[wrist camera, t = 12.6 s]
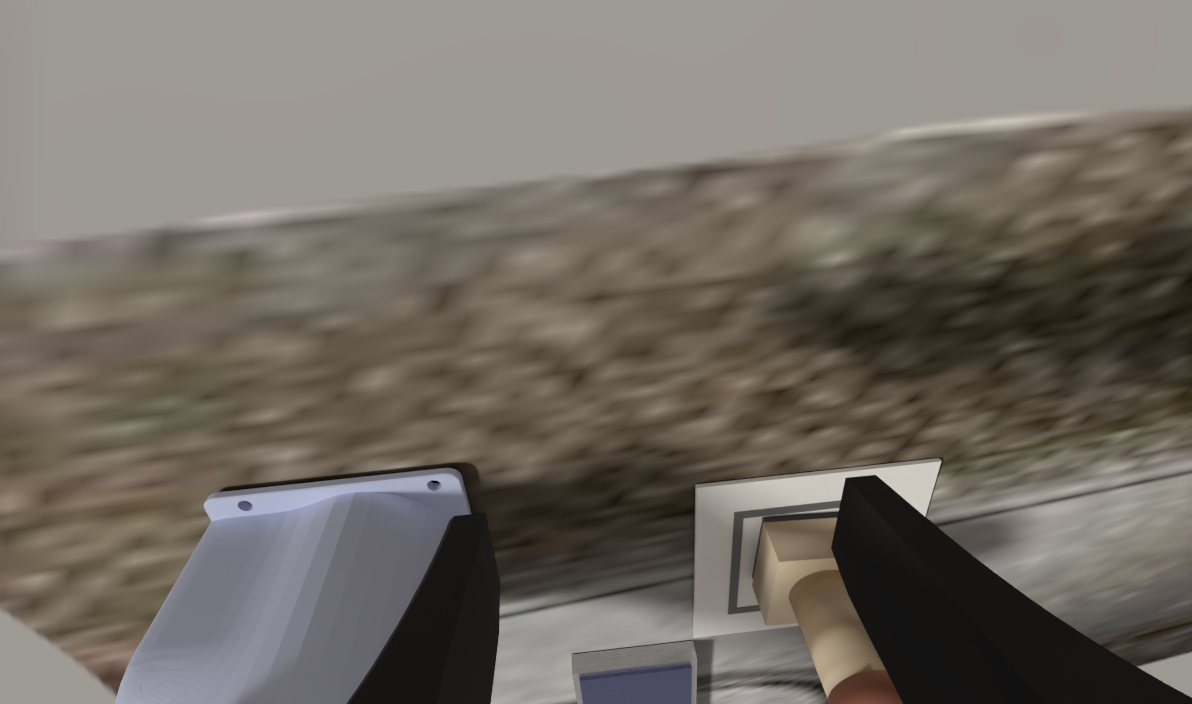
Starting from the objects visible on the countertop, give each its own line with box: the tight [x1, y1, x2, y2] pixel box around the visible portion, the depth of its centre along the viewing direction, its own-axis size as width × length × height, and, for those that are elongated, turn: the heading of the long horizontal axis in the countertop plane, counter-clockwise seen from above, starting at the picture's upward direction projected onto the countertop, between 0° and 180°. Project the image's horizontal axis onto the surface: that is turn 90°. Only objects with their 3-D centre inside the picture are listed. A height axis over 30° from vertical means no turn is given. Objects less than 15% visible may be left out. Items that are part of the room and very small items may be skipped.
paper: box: [693, 458, 941, 638], centre depth 28 cm, size 10×10×1 cm
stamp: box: [752, 512, 903, 704], centre depth 23 cm, size 4×4×9 cm
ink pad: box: [572, 641, 697, 704], centre depth 32 cm, size 6×6×1 cm
